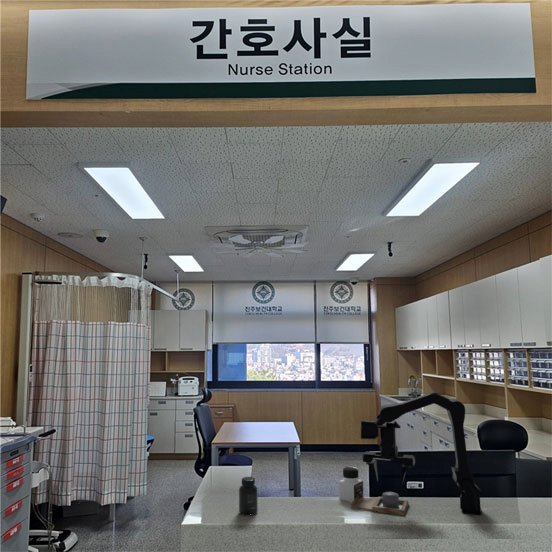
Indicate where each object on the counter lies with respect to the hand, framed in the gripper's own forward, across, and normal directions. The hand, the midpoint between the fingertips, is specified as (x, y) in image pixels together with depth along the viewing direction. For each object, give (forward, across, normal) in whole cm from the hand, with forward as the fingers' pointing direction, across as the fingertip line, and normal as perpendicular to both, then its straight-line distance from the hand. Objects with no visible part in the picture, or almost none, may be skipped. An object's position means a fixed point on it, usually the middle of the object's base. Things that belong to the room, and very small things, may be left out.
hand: (389, 482), depth 182 cm
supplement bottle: (+10, +48, +23) cm, 54 cm away
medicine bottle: (+10, +16, -5) cm, 20 cm away
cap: (+9, 0, 0) cm, 9 cm away
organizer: (+9, +4, 0) cm, 10 cm away
